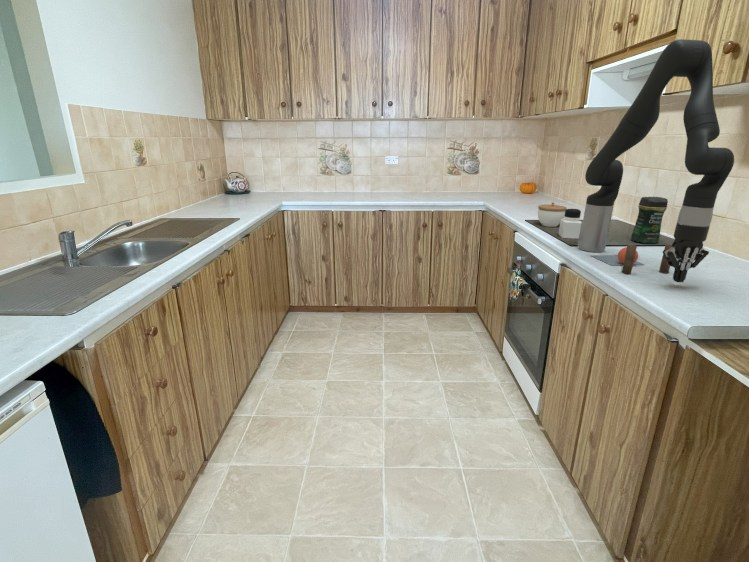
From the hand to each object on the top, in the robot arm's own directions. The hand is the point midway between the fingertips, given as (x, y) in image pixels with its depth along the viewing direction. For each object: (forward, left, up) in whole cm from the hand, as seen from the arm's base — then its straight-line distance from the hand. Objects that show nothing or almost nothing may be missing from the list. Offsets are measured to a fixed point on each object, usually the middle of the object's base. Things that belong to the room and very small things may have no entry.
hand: (678, 281), depth 124 cm
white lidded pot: (-87, +7, -2) cm, 87 cm away
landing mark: (-27, 0, -2) cm, 27 cm away
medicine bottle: (-63, +3, -2) cm, 63 cm away
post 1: (-13, -6, -2) cm, 15 cm away
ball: (-22, 0, +2) cm, 22 cm away
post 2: (-13, +6, -2) cm, 15 cm away
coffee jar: (-52, +30, -2) cm, 60 cm away
